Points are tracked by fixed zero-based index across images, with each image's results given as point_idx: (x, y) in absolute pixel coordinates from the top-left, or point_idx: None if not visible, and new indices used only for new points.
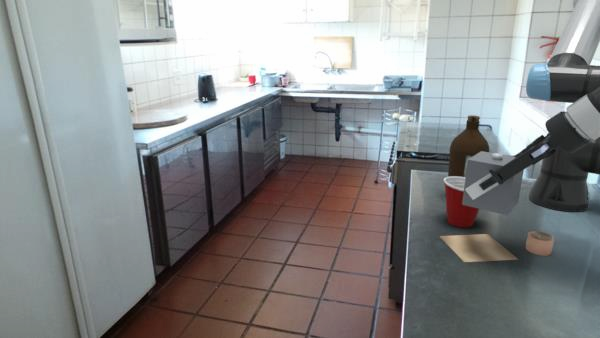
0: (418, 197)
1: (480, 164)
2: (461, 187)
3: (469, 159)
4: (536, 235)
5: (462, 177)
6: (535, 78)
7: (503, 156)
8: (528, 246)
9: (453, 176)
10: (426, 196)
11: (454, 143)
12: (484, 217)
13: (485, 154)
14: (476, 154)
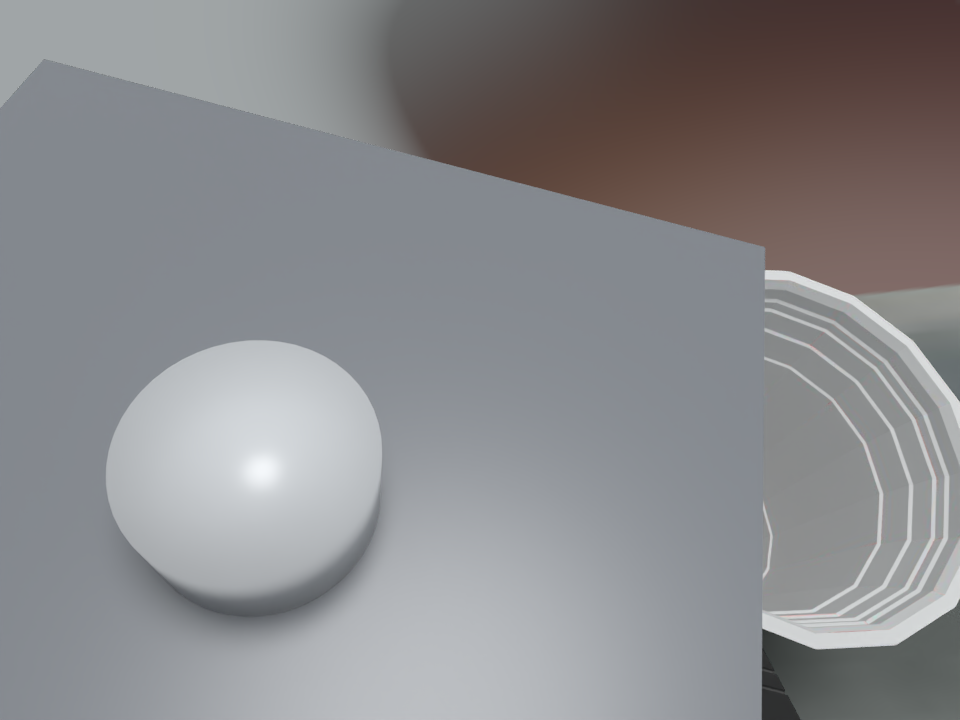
0: (908, 307)
1: None
2: (872, 439)
3: (65, 77)
4: None
5: (945, 401)
6: None
7: (579, 643)
8: None
9: (897, 333)
10: (955, 342)
11: None
12: (896, 693)
13: (555, 299)
14: (475, 176)
